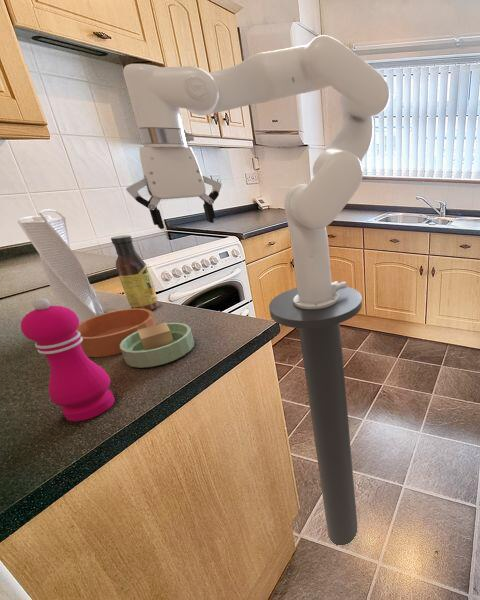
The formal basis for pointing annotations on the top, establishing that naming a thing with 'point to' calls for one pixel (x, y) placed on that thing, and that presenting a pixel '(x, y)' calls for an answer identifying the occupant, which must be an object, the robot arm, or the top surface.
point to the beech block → (155, 336)
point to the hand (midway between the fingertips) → (186, 224)
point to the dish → (161, 355)
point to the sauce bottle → (134, 275)
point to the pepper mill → (67, 362)
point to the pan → (112, 330)
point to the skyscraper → (61, 265)
